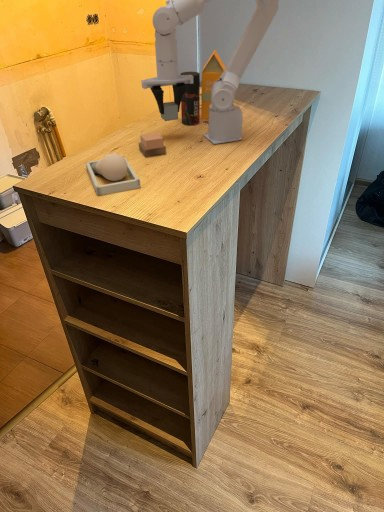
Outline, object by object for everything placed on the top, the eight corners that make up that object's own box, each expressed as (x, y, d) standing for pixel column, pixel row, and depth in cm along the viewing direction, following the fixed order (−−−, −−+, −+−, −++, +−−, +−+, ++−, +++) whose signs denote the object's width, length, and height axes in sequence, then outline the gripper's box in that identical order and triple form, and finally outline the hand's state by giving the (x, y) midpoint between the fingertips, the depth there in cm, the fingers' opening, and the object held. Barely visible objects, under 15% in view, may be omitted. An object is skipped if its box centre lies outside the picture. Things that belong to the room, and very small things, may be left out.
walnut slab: (159, 148, 108) (158, 139, 106) (166, 155, 103) (165, 146, 102) (139, 151, 106) (138, 142, 105) (145, 159, 102) (144, 150, 100)
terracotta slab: (157, 141, 106) (157, 132, 104) (163, 147, 102) (163, 138, 100) (141, 143, 104) (140, 134, 102) (146, 149, 100) (145, 140, 99)
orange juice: (224, 112, 133) (227, 48, 121) (223, 119, 126) (226, 53, 114) (202, 111, 134) (203, 48, 121) (200, 119, 127) (201, 53, 114)
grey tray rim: (125, 163, 99) (124, 156, 98) (140, 187, 88) (139, 180, 86) (86, 169, 96) (85, 162, 95) (97, 195, 85) (96, 187, 83)
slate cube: (173, 115, 111) (173, 101, 109) (178, 119, 108) (177, 105, 106) (160, 117, 110) (160, 103, 108) (165, 121, 107) (164, 106, 105)
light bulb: (80, 156, 91) (109, 154, 84) (101, 153, 96) (130, 150, 89) (85, 183, 93) (114, 183, 86) (106, 179, 98) (135, 178, 91)
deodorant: (187, 118, 127) (186, 70, 118) (202, 121, 125) (203, 72, 116) (178, 123, 123) (176, 74, 114) (193, 126, 121) (193, 76, 112)
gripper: (186, 55, 105) (187, 105, 113) (136, 59, 101) (141, 111, 109) (196, 59, 100) (196, 112, 108) (143, 64, 95) (148, 118, 104)
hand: (169, 112), depth 108 cm, fingers closed on slate cube, 4 cm apart
